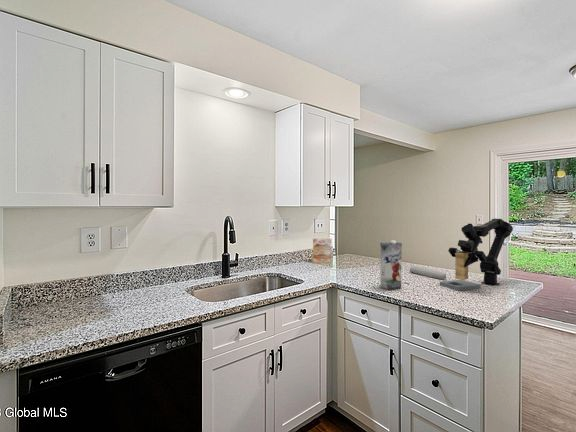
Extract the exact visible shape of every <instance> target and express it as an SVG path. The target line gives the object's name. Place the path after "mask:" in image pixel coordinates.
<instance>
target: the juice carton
mask: <svg viewBox="0 0 576 432" xmlns="http://www.w3.org/2000/svg"><path fill="white" fill-rule="evenodd" d="M379 245H380V246H379V247H380V248H379V249H380V253H379V254H380V255H379V256H380V262H379V263H380V264H379V265H380V266H379V267H380V271H379V273H380V275H379V276H380V278H379V280H380V282H379V283H380V288H382V289H385V290H388V291H391V290H399V289H401V288H402V255H403V254H402V249H403V248H402V247H403V246H402V245H403V244H402V243H401V242H397V241H396V240H390V241H389V242H388V241H387V242H383V241H382V242H380V244H379Z"/></svg>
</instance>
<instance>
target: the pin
mask: <svg viewBox="0 0 576 432" xmlns="http://www.w3.org/2000/svg"><path fill="white" fill-rule="evenodd" d="M454 258H455V262H454V263H455V264H454V265H455V268H454V269H455V273H454V274H455V278H454V279H455V280H465V281H467V280H469V266H467V267H464V265H465V262H466V261H467V259H468V253H462V252H459V253H455V257H454Z"/></svg>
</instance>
